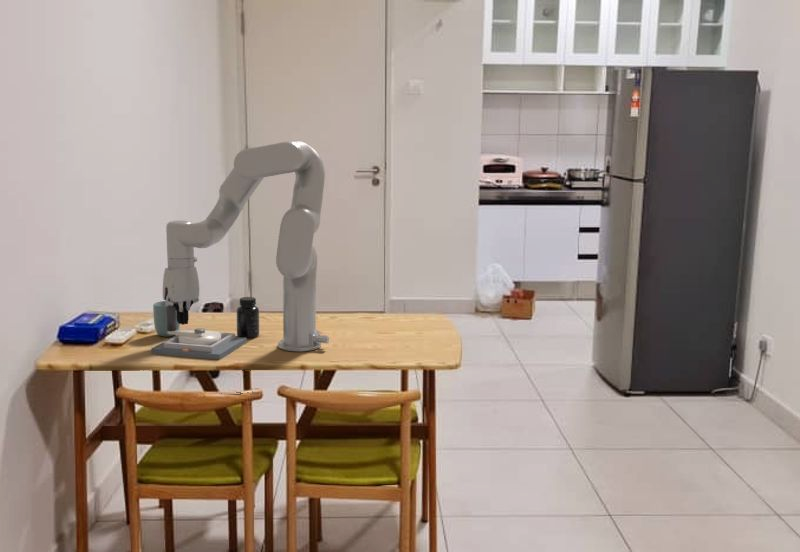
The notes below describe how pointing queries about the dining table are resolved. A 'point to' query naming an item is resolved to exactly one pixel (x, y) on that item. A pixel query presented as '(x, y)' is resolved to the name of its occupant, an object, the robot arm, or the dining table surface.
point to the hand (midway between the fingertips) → (182, 323)
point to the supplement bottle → (247, 318)
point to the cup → (162, 319)
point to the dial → (187, 336)
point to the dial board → (200, 347)
